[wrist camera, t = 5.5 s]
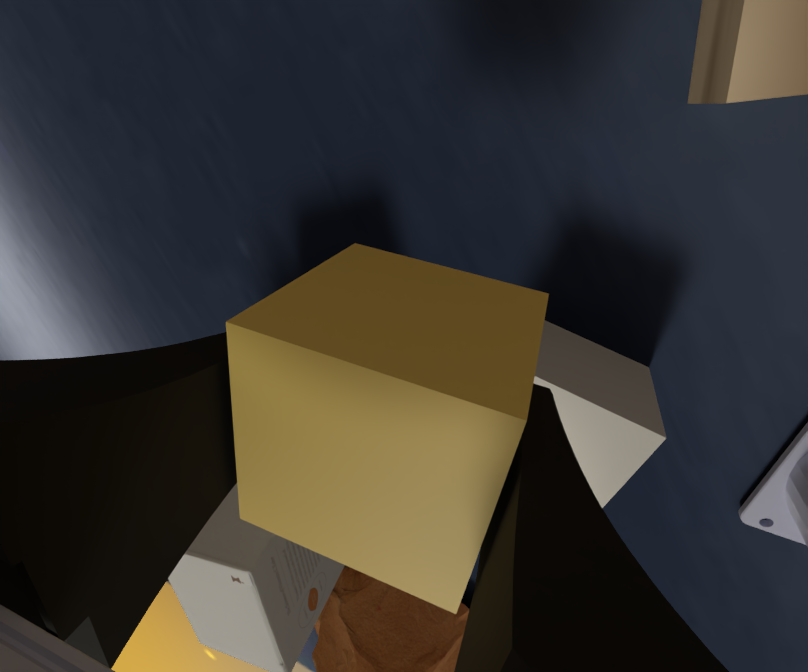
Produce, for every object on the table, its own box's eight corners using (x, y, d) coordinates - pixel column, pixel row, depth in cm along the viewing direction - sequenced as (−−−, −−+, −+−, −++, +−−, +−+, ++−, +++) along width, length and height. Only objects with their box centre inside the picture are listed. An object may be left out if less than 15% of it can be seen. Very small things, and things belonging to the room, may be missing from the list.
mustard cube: (549, 293, 10) (527, 421, 6) (496, 448, 13) (456, 614, 9) (354, 242, 12) (225, 322, 7) (341, 394, 14) (240, 517, 10)
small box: (279, 405, 29) (144, 539, 20) (358, 416, 27) (247, 571, 18) (302, 497, 32) (196, 646, 23) (373, 513, 30) (287, 683, 21)
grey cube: (648, 366, 19) (666, 438, 15) (589, 442, 22) (590, 521, 18) (541, 317, 20) (530, 373, 16) (496, 397, 23) (477, 463, 19)
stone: (337, 608, 42) (245, 682, 34) (388, 487, 37) (297, 538, 29) (465, 752, 35) (387, 891, 27) (547, 623, 30) (485, 742, 22)
